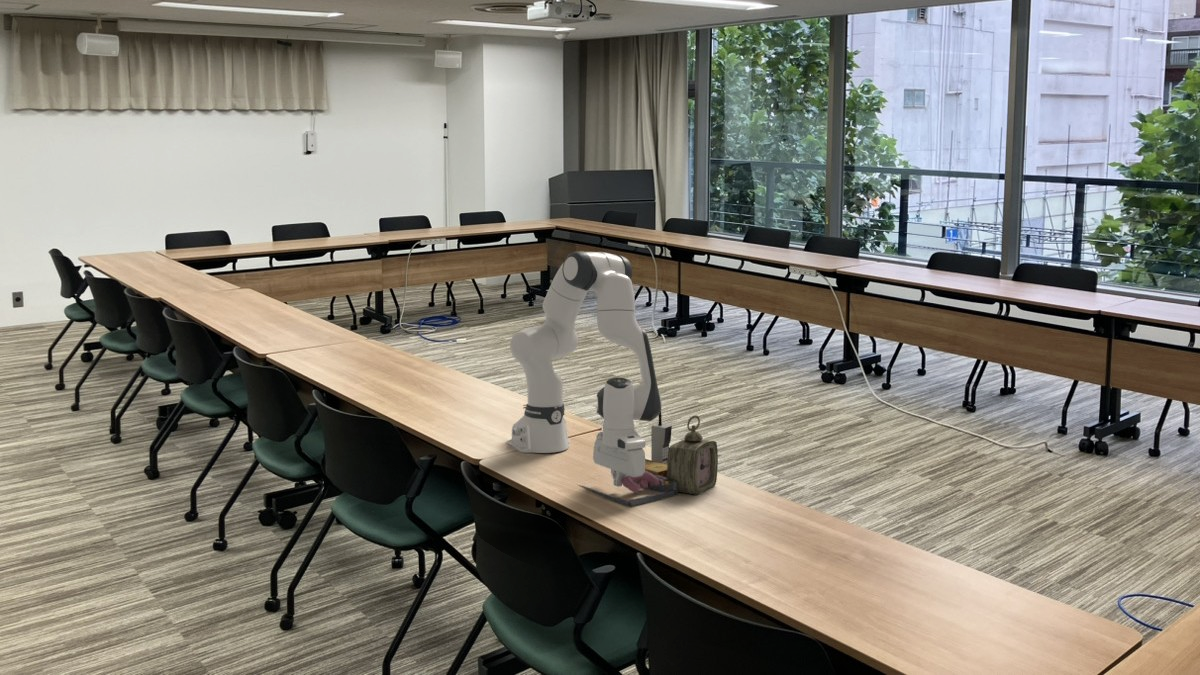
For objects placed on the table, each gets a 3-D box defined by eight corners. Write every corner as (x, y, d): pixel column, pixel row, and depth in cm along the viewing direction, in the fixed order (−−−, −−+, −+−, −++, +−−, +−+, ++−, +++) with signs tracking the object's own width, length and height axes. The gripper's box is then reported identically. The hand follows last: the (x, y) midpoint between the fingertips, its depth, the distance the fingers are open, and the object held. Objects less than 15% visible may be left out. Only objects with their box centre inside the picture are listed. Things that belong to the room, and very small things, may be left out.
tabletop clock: (693, 510, 283) (694, 421, 279) (664, 505, 287) (665, 418, 284) (717, 498, 295) (718, 413, 291) (689, 493, 299) (690, 409, 296)
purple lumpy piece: (654, 491, 289) (641, 472, 292) (662, 482, 286) (648, 462, 289) (629, 499, 282) (616, 479, 285) (637, 490, 279) (623, 469, 282)
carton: (657, 486, 290) (657, 471, 290) (621, 475, 303) (621, 461, 302) (679, 481, 295) (679, 466, 295) (643, 470, 308) (643, 457, 307)
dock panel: (574, 486, 292) (574, 473, 292) (620, 476, 303) (620, 463, 302) (630, 506, 273) (630, 492, 273) (677, 495, 284) (677, 481, 283)
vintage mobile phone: (665, 482, 307) (665, 400, 304) (651, 479, 310) (651, 398, 307) (671, 479, 310) (672, 398, 306) (658, 476, 313) (658, 396, 309)
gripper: (588, 431, 291) (587, 479, 292) (630, 445, 274) (630, 495, 276) (606, 429, 294) (605, 476, 296) (649, 442, 278) (648, 492, 279)
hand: (617, 485), depth 286 cm, fingers closed
